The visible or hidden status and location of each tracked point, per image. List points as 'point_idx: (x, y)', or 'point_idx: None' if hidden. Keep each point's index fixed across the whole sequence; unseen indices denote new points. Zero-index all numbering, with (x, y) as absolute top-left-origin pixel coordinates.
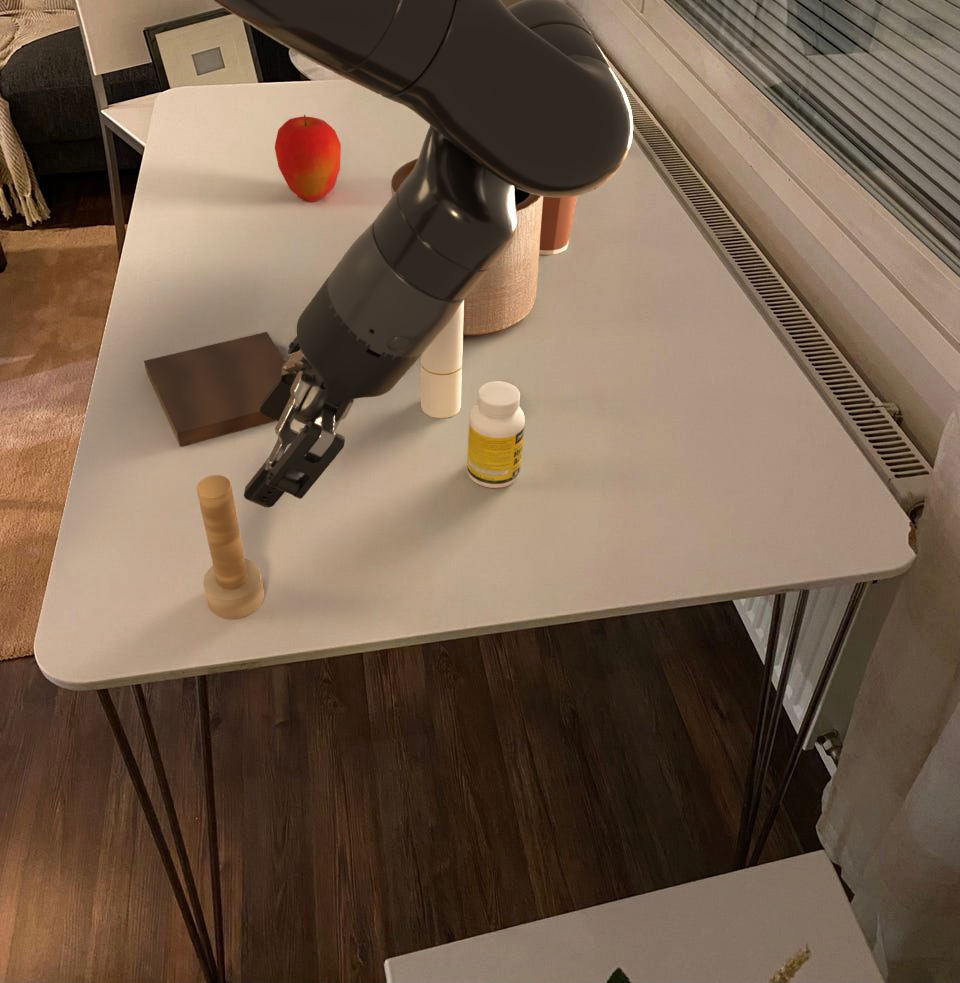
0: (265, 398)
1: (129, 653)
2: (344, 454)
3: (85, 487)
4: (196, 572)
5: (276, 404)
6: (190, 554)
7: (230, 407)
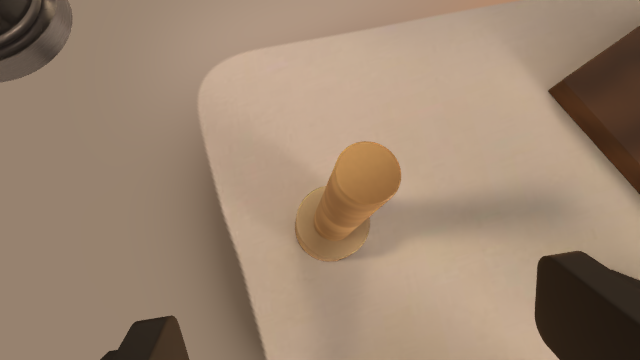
0: (599, 273)
1: (233, 136)
2: None
3: (455, 18)
4: None
5: (586, 323)
6: None
7: (631, 126)
